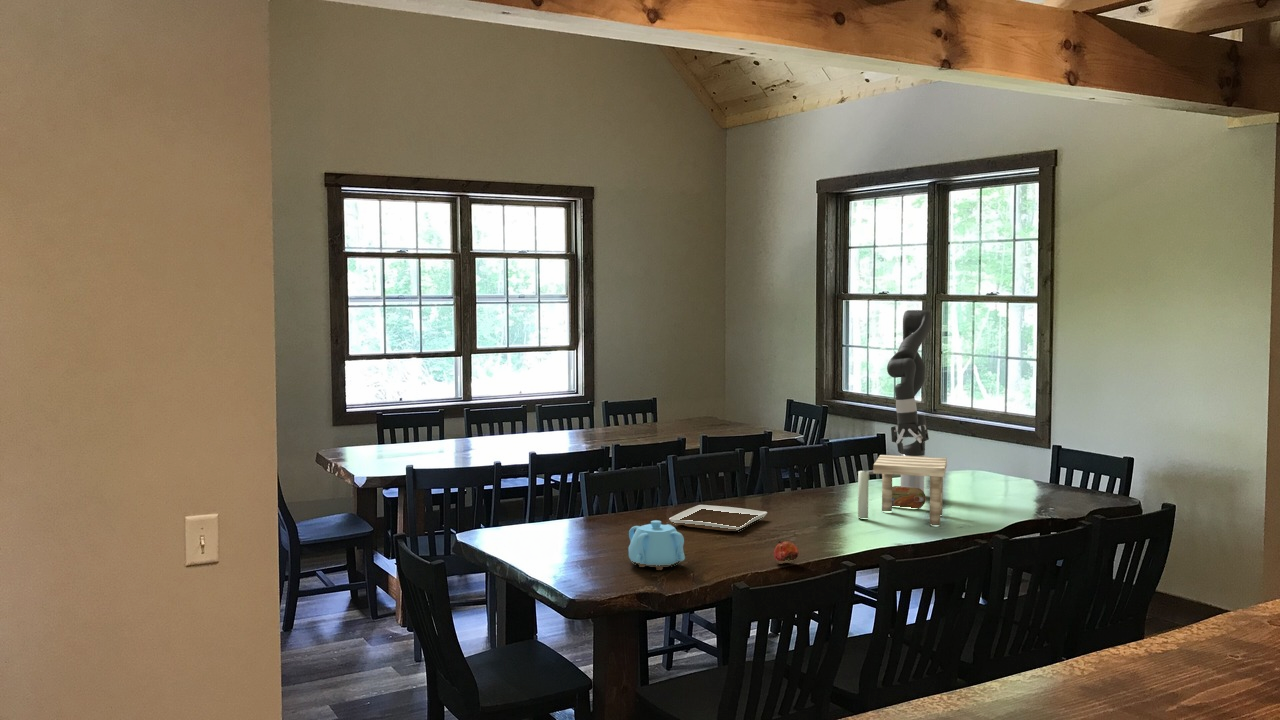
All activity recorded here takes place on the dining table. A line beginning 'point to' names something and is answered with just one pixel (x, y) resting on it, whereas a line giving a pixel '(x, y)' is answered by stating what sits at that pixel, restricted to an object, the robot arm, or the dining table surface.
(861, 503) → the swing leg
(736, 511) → the square plate
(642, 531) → the decorative pot
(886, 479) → the stool
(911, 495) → the tin
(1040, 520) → the dining table surface
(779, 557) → the pomegranate
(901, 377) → the robot arm
